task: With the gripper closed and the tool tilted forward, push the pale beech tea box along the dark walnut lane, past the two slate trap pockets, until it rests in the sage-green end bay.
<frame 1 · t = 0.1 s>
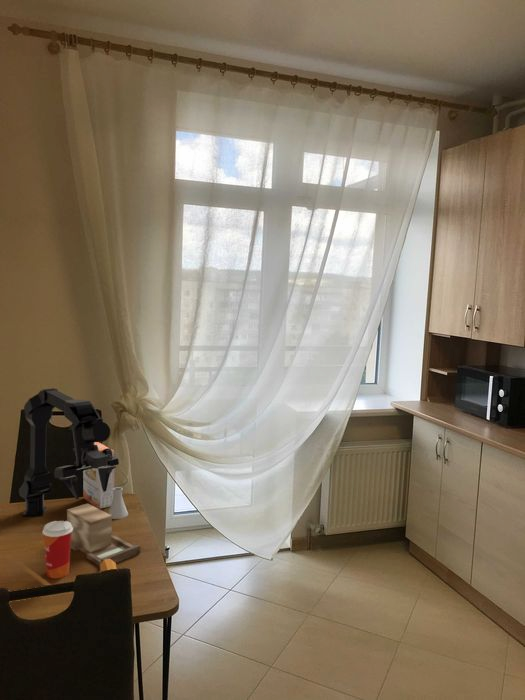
hand: (91, 495, 167), 15 cm above the table, tool pointing down, fingers open, 9 cm apart
carrot: (112, 590, 144), on the table
flask: (117, 517, 189), on the table
trap lane: (96, 547, 166), on the table
tea box: (89, 541, 169), point 1 cm above the table, touching trap lane
paper cup: (57, 576, 150), on the table
cracker box: (98, 503, 201), on the table
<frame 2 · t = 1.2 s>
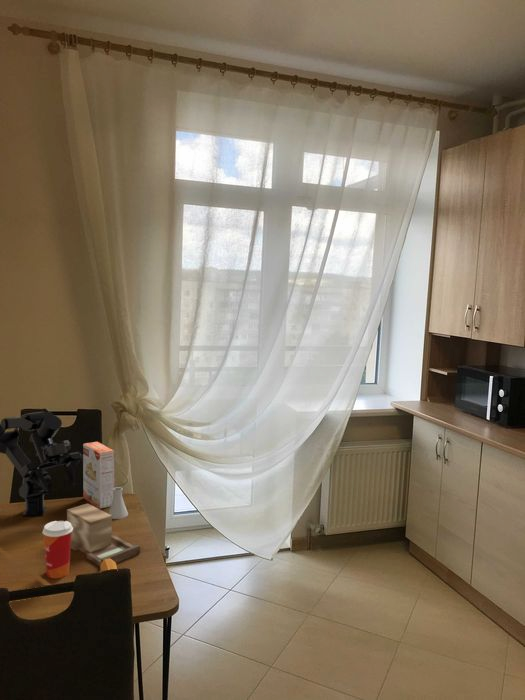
hand: (61, 487, 178), 13 cm above the table, tool tilted 45°, fingers open, 9 cm apart
nothing on the table moved.
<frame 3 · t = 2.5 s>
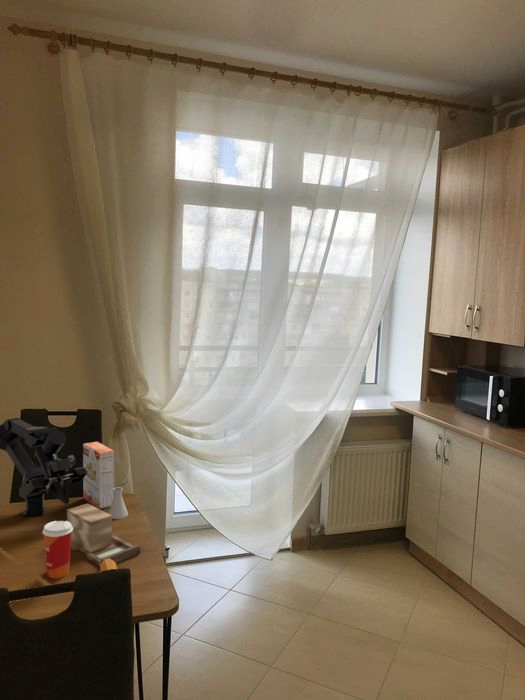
hand: (67, 503, 176), 9 cm above the table, tool tilted 45°, fingers closed
nothing on the table moved.
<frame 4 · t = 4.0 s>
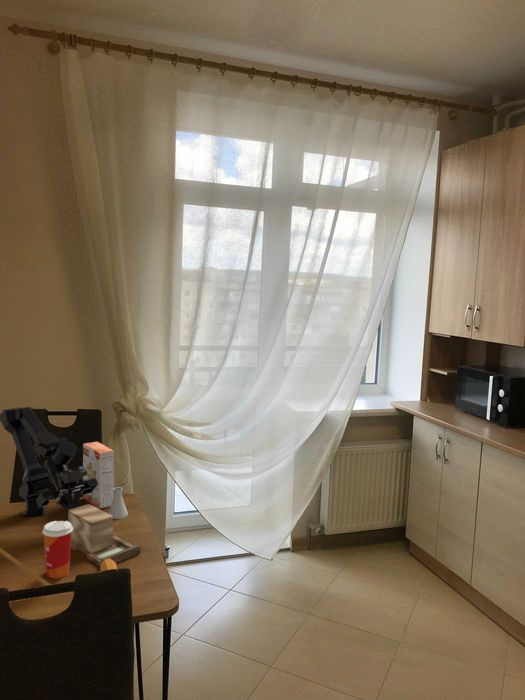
hand: (78, 515, 172), 7 cm above the table, tool tilted 45°, fingers closed, pressing on tea box
tea box: (90, 542, 168), point 1 cm above the table, touching gripper
everything else where it was.
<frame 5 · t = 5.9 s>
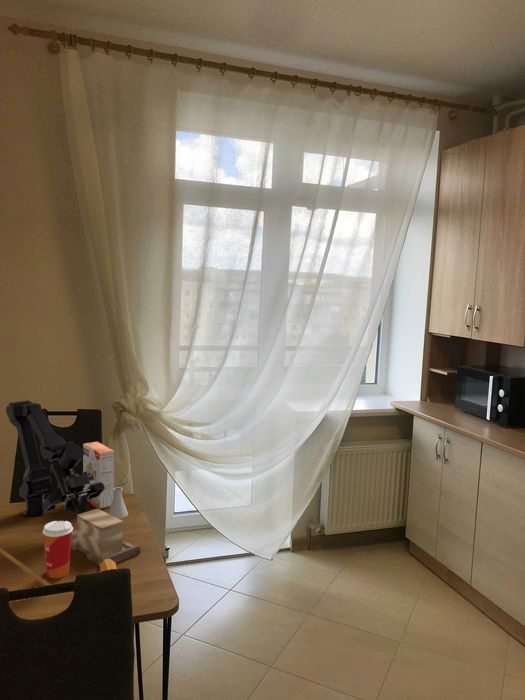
hand: (85, 520, 170), 7 cm above the table, tool tilted 45°, fingers closed
tea box: (99, 547, 165), point 1 cm above the table, touching trap lane
everything else where it was.
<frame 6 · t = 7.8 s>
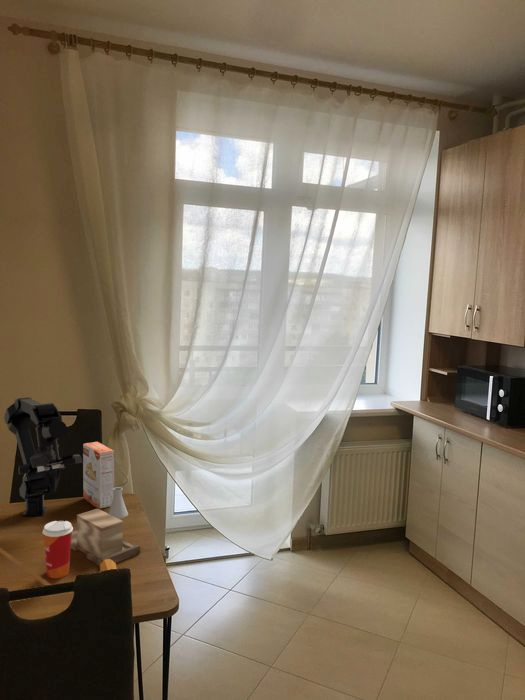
hand: (53, 491, 177), 12 cm above the table, tool tilted 20°, fingers closed
nothing on the table moved.
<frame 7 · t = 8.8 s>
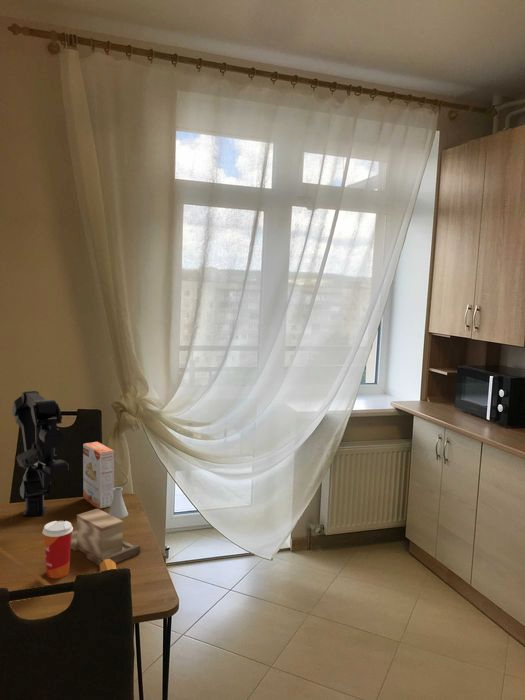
hand: (45, 487, 178), 13 cm above the table, tool pointing down, fingers closed
nothing on the table moved.
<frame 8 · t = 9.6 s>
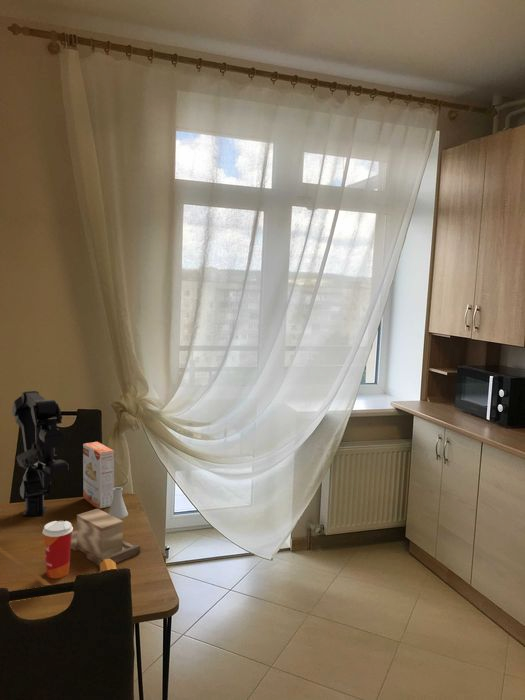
hand: (45, 487, 178), 13 cm above the table, tool pointing down, fingers closed
nothing on the table moved.
at the end: tea box inside the target area (1.8 cm from its centre), point 0.8 cm above the table; tea box moved 5.5 cm from its start; tea box tilted 0° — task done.
